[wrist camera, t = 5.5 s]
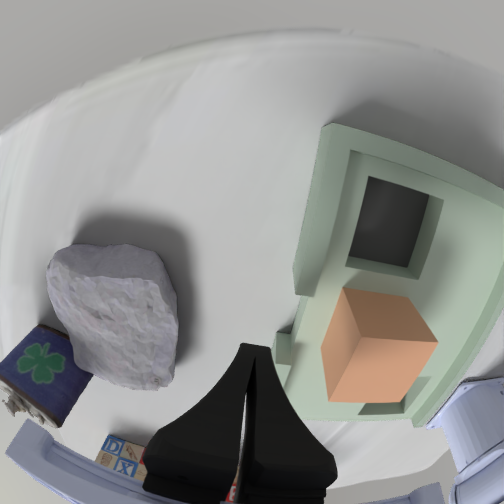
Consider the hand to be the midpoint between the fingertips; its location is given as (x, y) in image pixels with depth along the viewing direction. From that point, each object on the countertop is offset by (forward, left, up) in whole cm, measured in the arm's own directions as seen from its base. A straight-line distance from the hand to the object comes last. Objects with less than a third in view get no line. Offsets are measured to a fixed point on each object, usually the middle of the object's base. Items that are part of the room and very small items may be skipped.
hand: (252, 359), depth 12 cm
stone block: (+10, +4, -6) cm, 12 cm away
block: (-7, 0, -4) cm, 8 cm away
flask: (+18, +11, -6) cm, 22 cm away
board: (-10, 0, -6) cm, 11 cm away
